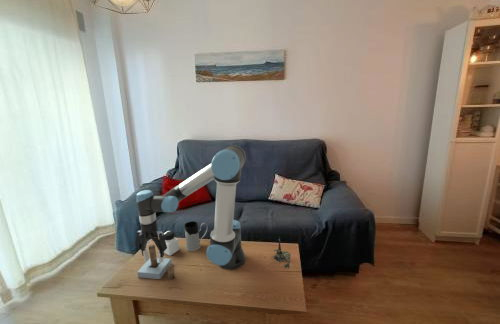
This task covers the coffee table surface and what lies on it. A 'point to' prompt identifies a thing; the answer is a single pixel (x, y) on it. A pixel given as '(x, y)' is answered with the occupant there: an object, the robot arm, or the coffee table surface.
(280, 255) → the grey-green irregular piece
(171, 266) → the short pin
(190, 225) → the grey black mug
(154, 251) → the long pin
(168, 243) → the medicine bottle
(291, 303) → the coffee table surface
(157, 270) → the collar plate
